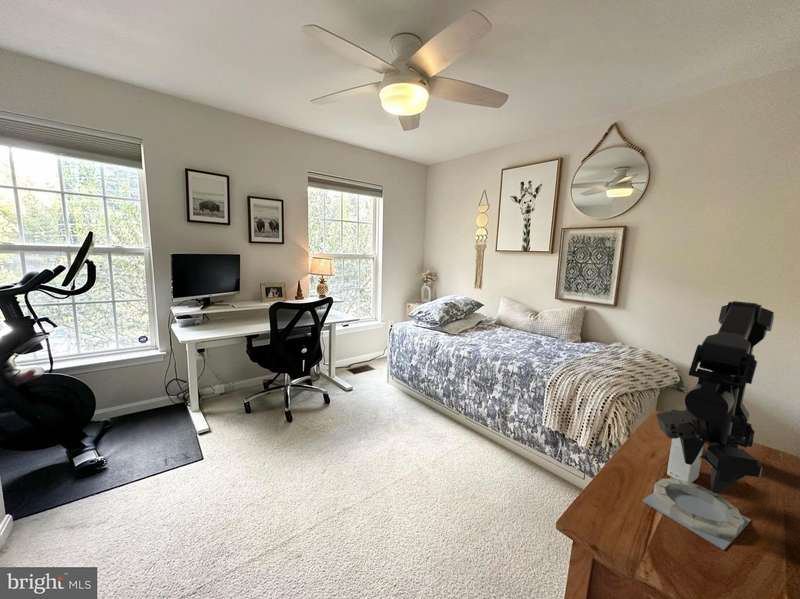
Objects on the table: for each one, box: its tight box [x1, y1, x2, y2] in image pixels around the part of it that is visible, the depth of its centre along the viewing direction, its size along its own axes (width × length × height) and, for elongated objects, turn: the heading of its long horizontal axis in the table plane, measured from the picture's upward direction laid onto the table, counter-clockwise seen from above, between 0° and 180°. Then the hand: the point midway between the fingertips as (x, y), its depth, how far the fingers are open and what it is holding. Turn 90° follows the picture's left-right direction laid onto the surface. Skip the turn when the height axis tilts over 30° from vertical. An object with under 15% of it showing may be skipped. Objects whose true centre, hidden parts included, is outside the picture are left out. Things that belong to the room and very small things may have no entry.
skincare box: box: [666, 438, 704, 483], centre depth 77 cm, size 6×4×12 cm
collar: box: [653, 478, 744, 539], centre depth 67 cm, size 13×13×2 cm
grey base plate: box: [641, 491, 751, 551], centre depth 67 cm, size 14×13×1 cm
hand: (700, 477), depth 66 cm, fingers open, 9 cm apart
